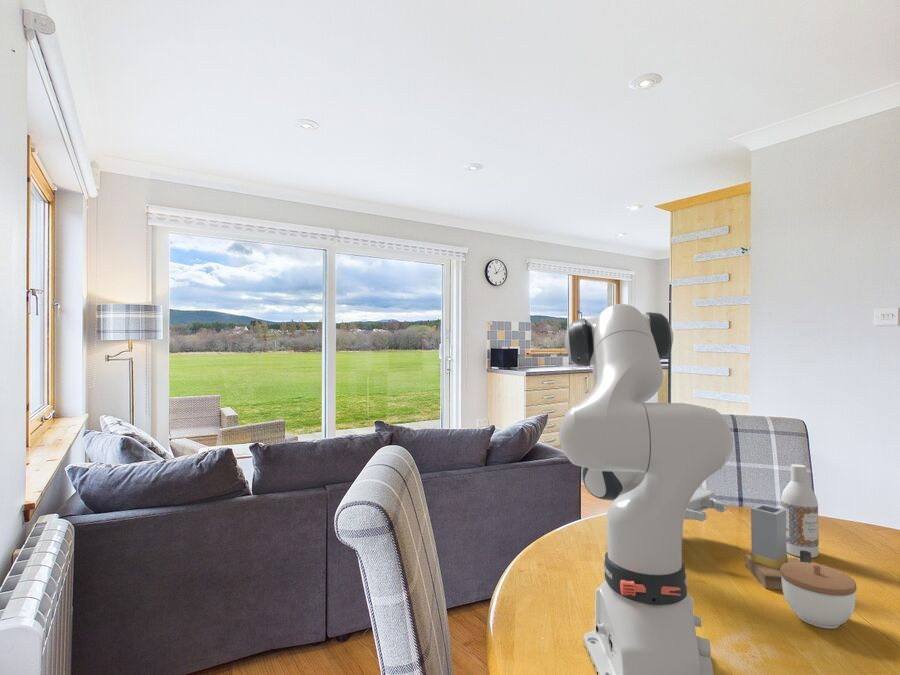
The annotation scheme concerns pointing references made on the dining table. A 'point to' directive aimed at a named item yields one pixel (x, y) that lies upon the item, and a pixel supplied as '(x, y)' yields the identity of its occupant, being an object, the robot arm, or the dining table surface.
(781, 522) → the sleeve
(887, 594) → the dining table surface
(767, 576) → the pin block
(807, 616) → the lidded jar
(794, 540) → the bath foam
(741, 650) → the dining table surface
